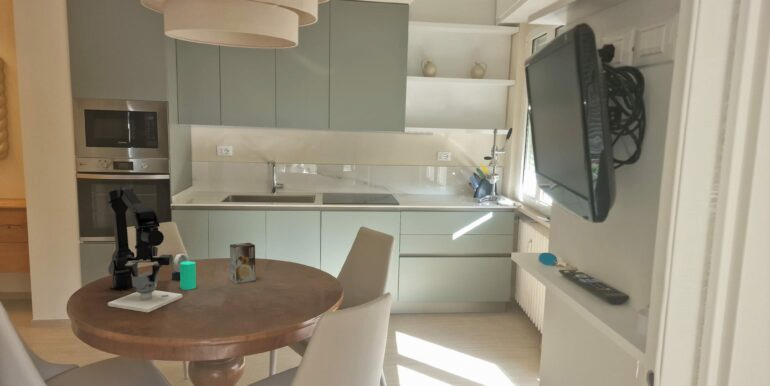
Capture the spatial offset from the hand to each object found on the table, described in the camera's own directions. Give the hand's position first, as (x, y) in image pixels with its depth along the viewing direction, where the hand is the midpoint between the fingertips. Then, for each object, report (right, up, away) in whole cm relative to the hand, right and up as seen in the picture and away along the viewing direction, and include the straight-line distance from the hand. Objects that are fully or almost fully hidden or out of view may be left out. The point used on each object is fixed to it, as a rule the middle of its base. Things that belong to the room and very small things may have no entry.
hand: (145, 282), depth 189 cm
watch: (+1, -4, +31) cm, 31 cm away
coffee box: (+28, -5, +31) cm, 42 cm away
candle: (+9, -6, +19) cm, 22 cm away
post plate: (0, -7, +1) cm, 8 cm away
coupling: (0, -3, +1) cm, 3 cm away
